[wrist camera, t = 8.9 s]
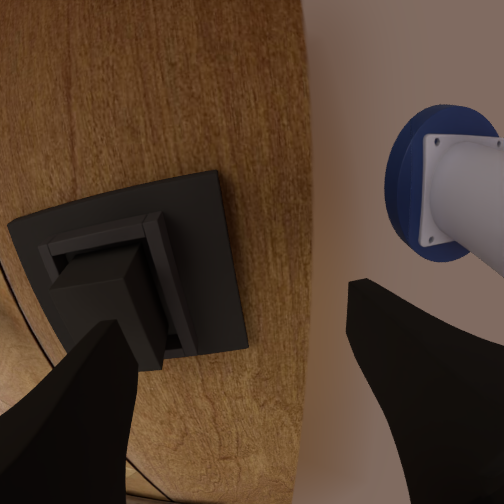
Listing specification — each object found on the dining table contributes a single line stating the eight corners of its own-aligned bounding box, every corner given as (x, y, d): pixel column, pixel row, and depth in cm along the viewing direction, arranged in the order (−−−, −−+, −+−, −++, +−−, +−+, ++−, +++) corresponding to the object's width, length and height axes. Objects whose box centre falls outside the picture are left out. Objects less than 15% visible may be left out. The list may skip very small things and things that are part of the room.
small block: (142, 241, 16) (123, 278, 13) (169, 325, 19) (162, 370, 16) (75, 254, 16) (47, 290, 13) (108, 332, 19) (93, 374, 15)
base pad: (217, 169, 16) (217, 178, 14) (247, 339, 22) (251, 363, 19) (14, 219, 16) (-7, 234, 13) (77, 356, 21) (68, 378, 19)
